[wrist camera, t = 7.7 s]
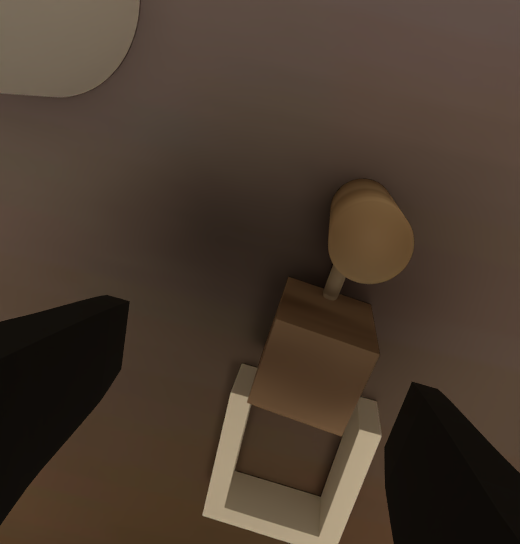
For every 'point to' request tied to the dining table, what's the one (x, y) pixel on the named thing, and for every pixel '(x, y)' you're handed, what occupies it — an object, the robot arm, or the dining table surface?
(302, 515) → the small tray
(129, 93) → the dining table surface
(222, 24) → the dining table surface
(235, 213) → the dining table surface
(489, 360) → the dining table surface
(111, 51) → the cup
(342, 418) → the tan rounded-end part
